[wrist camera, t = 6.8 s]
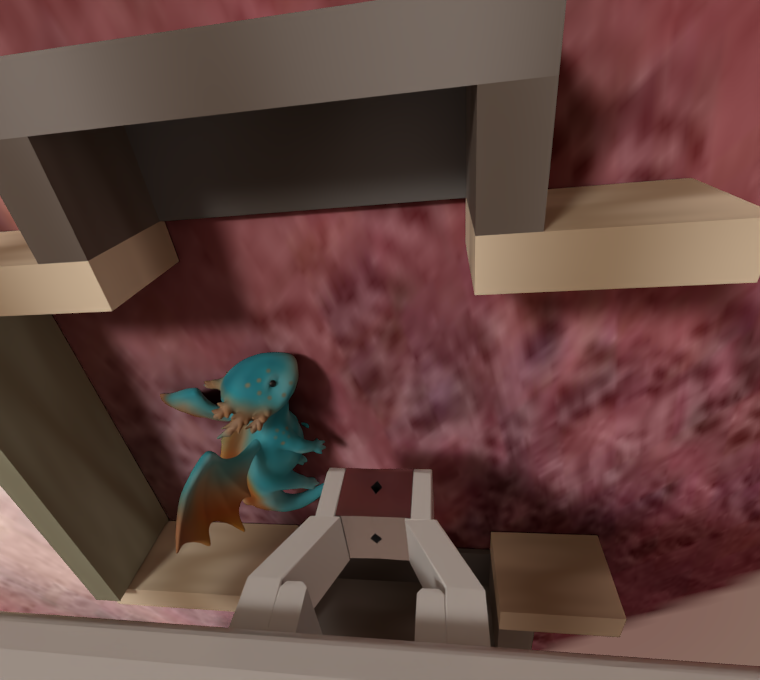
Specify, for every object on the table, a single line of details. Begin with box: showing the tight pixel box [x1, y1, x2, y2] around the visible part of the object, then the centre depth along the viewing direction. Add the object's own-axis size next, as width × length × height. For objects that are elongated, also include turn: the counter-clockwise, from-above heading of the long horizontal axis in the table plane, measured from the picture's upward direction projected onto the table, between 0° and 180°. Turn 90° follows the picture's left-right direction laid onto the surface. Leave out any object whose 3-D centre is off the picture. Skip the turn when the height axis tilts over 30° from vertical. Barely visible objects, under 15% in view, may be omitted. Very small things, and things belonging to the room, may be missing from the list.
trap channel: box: [0, 0, 760, 650], centre depth 13 cm, size 19×22×4 cm
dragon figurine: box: [160, 352, 326, 554], centre depth 15 cm, size 6×7×8 cm
